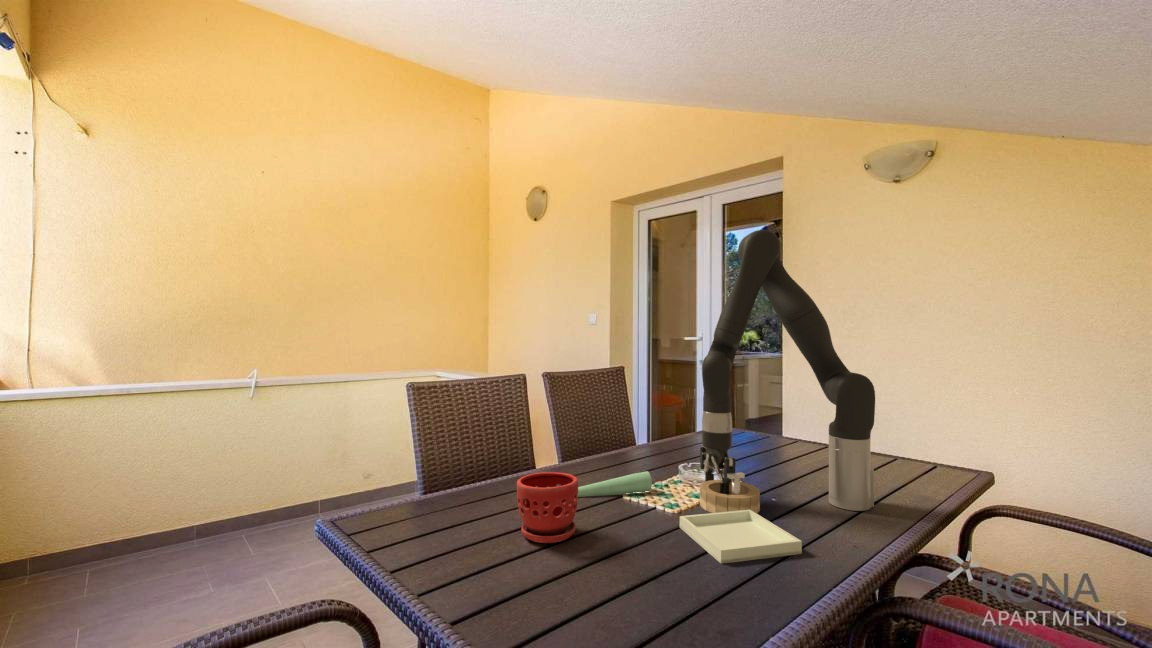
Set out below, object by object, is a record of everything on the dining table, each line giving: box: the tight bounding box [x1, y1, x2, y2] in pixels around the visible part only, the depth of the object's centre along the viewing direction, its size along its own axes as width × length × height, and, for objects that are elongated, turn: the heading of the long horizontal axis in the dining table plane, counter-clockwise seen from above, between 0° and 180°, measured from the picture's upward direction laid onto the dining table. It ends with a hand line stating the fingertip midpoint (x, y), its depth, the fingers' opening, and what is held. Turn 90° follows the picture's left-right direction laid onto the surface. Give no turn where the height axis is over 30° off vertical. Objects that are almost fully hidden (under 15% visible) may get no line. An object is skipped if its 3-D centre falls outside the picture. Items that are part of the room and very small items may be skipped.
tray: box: [679, 510, 803, 564], centre depth 105 cm, size 18×18×2 cm
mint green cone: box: [577, 471, 653, 498], centre depth 134 cm, size 5×6×27 cm
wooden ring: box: [699, 479, 761, 515], centre depth 125 cm, size 14×14×4 cm
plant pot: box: [516, 471, 579, 544], centre depth 108 cm, size 13×13×12 cm
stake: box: [727, 472, 746, 495], centre depth 122 cm, size 4×2×9 cm, turn 104°
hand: (716, 492), depth 131 cm, fingers open, 7 cm apart
